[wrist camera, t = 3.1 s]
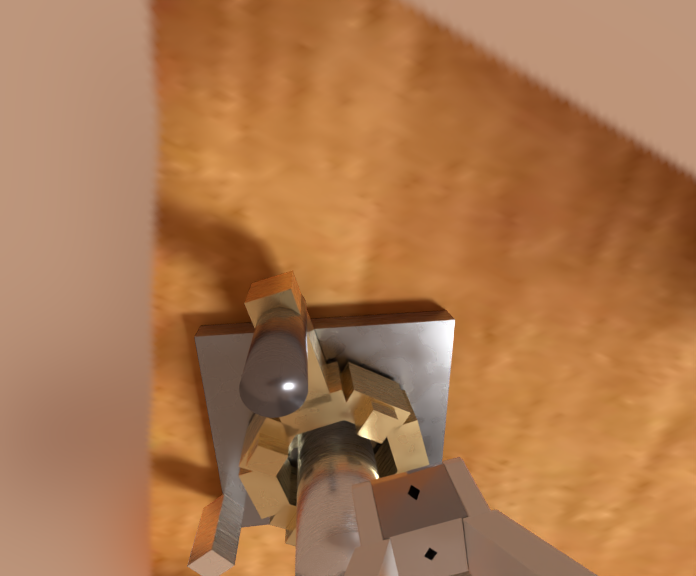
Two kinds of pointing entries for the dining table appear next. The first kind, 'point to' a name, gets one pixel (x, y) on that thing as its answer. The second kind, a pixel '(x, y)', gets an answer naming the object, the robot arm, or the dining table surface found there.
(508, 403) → the dining table surface
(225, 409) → the grey peg base
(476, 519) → the robot arm
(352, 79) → the dining table surface
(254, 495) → the tan ring with handle
